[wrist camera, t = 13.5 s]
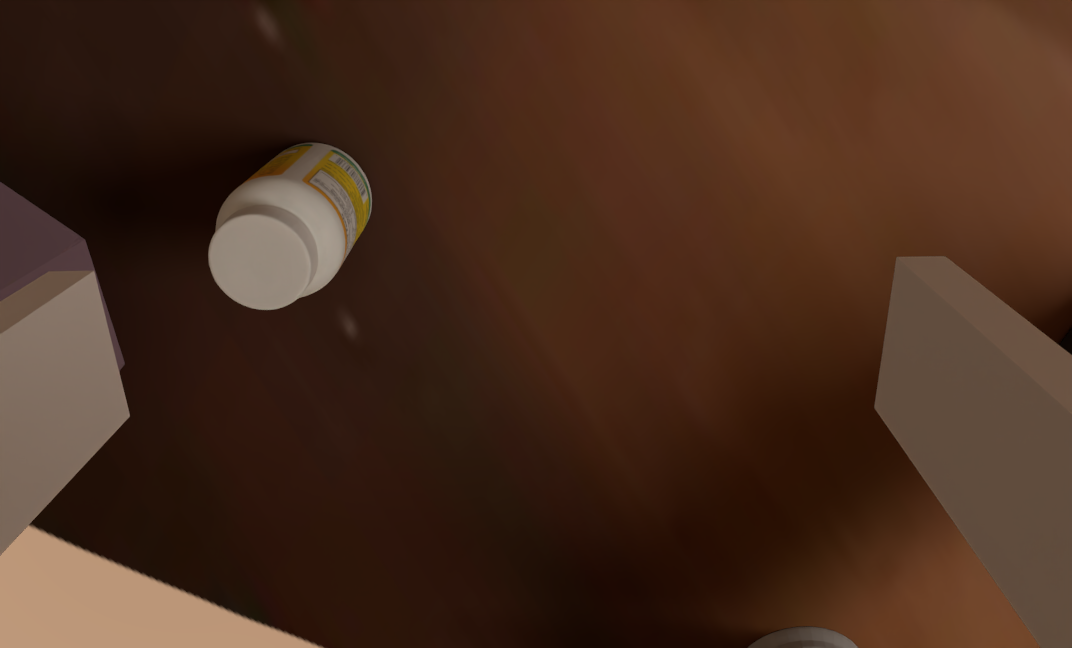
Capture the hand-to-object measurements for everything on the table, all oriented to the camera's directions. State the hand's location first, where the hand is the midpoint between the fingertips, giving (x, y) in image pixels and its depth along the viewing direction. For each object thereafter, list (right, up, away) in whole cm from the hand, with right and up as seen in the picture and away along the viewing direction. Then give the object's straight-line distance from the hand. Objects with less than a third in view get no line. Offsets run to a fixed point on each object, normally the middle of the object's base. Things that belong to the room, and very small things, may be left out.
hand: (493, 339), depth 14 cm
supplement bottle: (-10, +7, +28) cm, 30 cm away
